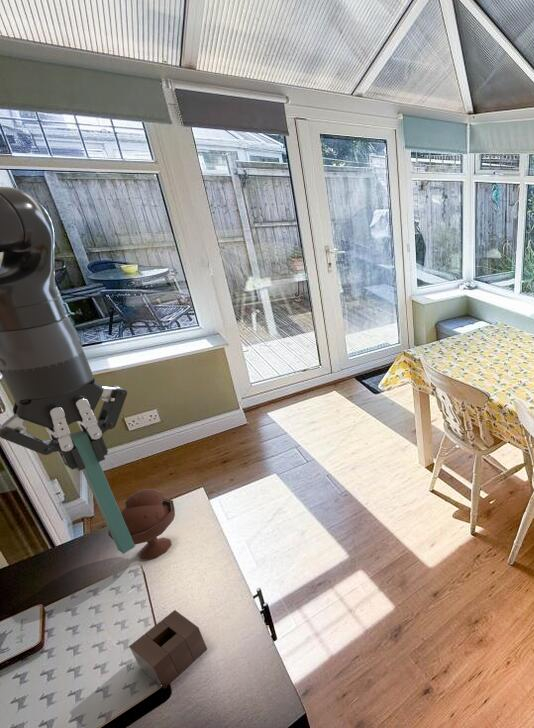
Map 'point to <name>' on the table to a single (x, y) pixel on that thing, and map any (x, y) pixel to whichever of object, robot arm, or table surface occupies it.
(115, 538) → the stick
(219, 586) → the table surface
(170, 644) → the holder
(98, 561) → the table surface
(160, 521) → the ice cream bowl
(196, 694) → the table surface
